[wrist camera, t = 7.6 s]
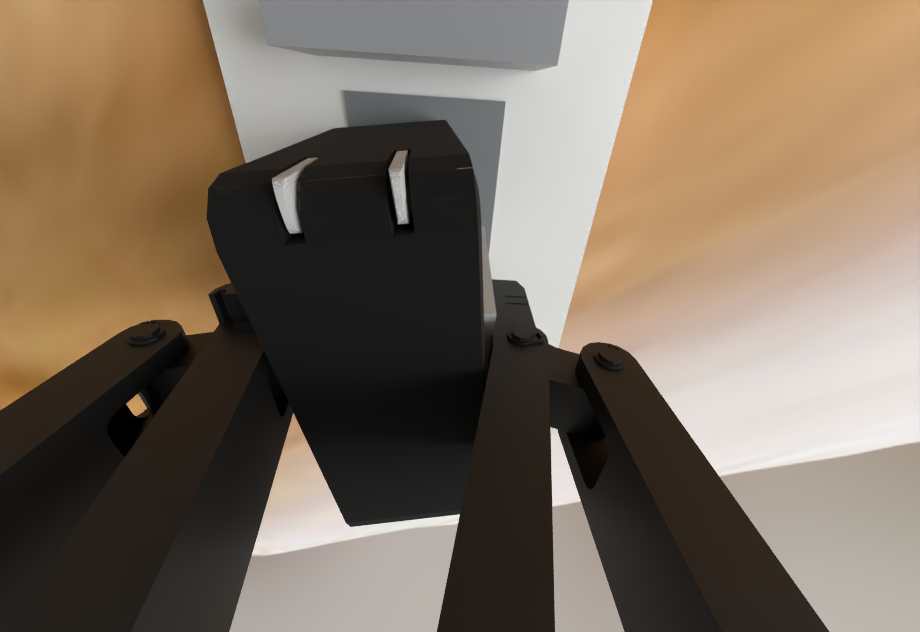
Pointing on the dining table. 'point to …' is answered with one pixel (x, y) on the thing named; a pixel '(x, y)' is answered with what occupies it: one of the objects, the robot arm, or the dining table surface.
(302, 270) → the electronic device
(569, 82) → the mounting board
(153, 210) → the dining table surface
